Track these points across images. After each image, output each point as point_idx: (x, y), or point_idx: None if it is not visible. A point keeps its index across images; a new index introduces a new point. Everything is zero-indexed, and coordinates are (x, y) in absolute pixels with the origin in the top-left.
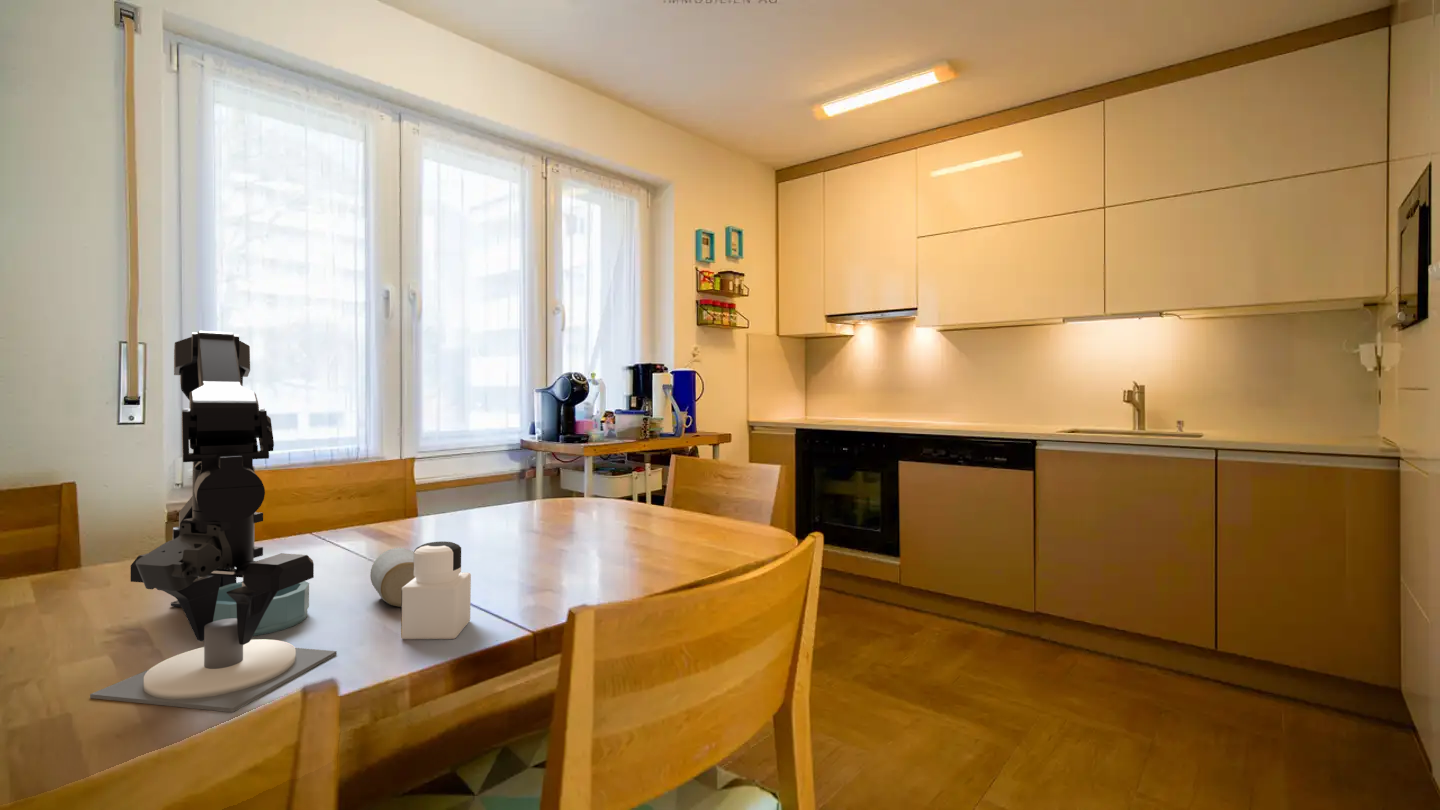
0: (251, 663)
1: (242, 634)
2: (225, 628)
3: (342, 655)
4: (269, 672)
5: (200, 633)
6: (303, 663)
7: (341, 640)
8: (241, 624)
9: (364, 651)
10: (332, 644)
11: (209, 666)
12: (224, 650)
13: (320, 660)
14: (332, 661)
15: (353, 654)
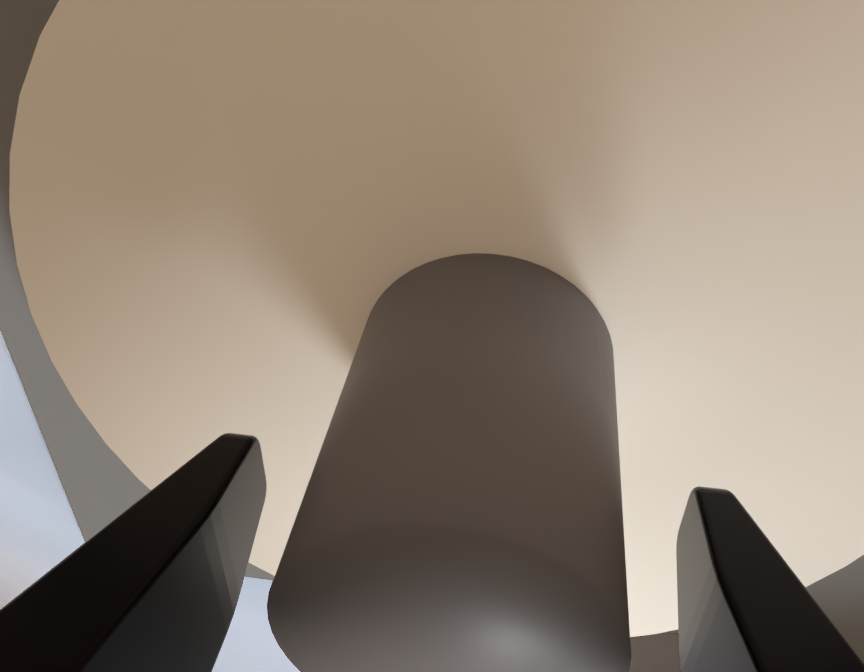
0: (264, 353)
1: (147, 494)
2: (299, 548)
3: (63, 533)
4: (17, 247)
5: (702, 549)
6: (96, 431)
7: (236, 658)
8: (84, 582)
9: (11, 567)
10: (235, 627)
11: (494, 264)
12: (362, 371)
13: (57, 468)
14: (37, 477)
15: (24, 542)
